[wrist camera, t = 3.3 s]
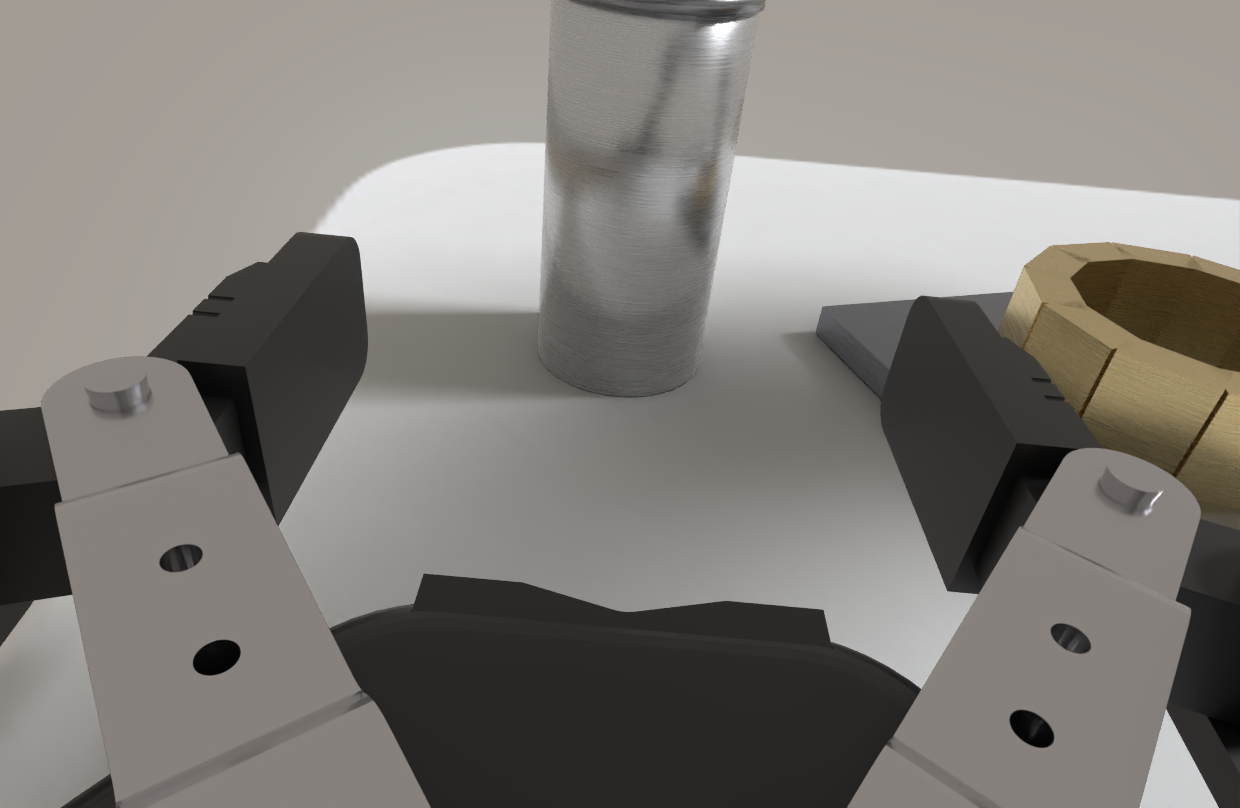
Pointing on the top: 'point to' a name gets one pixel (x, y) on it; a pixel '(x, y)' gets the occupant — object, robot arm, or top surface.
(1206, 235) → the top surface
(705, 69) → the piston
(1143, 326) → the ring base
